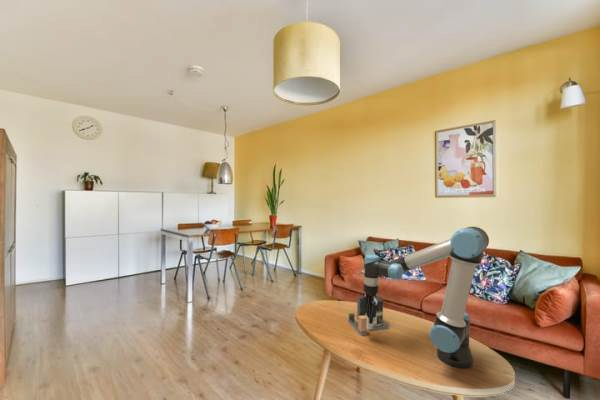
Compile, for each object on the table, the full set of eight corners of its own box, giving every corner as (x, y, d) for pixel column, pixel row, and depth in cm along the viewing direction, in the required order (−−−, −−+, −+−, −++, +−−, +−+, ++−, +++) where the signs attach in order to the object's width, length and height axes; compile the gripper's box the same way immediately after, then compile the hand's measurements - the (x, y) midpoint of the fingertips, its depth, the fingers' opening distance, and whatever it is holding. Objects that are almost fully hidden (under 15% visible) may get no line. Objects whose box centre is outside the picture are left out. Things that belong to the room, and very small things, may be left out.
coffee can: (380, 318, 171) (380, 295, 171) (385, 326, 161) (385, 301, 161) (363, 317, 172) (363, 295, 171) (367, 325, 161) (367, 301, 161)
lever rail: (366, 335, 154) (367, 326, 154) (361, 335, 153) (362, 326, 153) (353, 321, 171) (353, 313, 171) (348, 321, 170) (348, 313, 170)
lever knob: (367, 330, 154) (368, 318, 154) (361, 331, 153) (361, 319, 153) (364, 327, 158) (364, 315, 158) (357, 328, 157) (358, 316, 157)
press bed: (388, 328, 162) (388, 304, 162) (369, 331, 159) (370, 306, 159) (374, 317, 178) (374, 295, 177) (357, 319, 175) (357, 296, 174)
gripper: (384, 288, 142) (382, 333, 143) (371, 280, 155) (369, 322, 155) (370, 288, 140) (369, 335, 141) (358, 280, 153) (357, 323, 153)
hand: (369, 328), depth 148 cm, fingers closed
